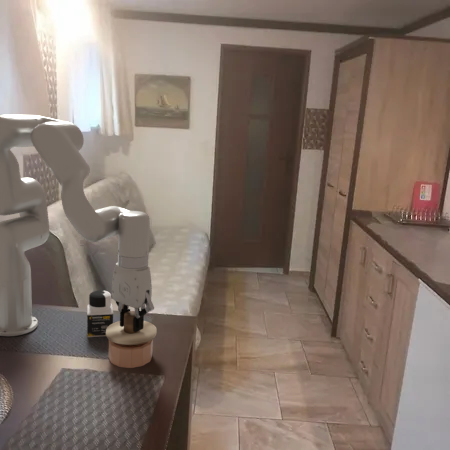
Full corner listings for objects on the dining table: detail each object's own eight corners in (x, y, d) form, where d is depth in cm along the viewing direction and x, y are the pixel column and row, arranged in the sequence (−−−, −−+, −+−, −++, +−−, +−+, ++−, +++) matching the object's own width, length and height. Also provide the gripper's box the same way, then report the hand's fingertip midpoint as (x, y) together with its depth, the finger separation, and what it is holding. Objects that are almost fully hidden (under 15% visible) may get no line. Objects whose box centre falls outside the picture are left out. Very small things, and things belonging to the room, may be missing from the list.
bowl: (100, 357, 125) (100, 340, 124) (130, 342, 134) (130, 326, 133) (131, 372, 120) (131, 354, 118) (160, 355, 129) (160, 338, 127)
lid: (95, 334, 123) (95, 315, 122) (130, 317, 134) (131, 300, 133) (132, 350, 117) (132, 330, 115) (166, 331, 127) (167, 313, 126)
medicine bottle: (87, 337, 135) (87, 297, 133) (87, 326, 142) (87, 288, 139) (113, 336, 137) (113, 296, 135) (111, 325, 144) (112, 287, 141)
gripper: (98, 256, 122) (98, 323, 126) (148, 271, 113) (146, 342, 117) (119, 250, 128) (118, 314, 132) (168, 264, 119) (165, 332, 124)
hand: (131, 326), depth 125 cm, fingers closed on lid, 4 cm apart
